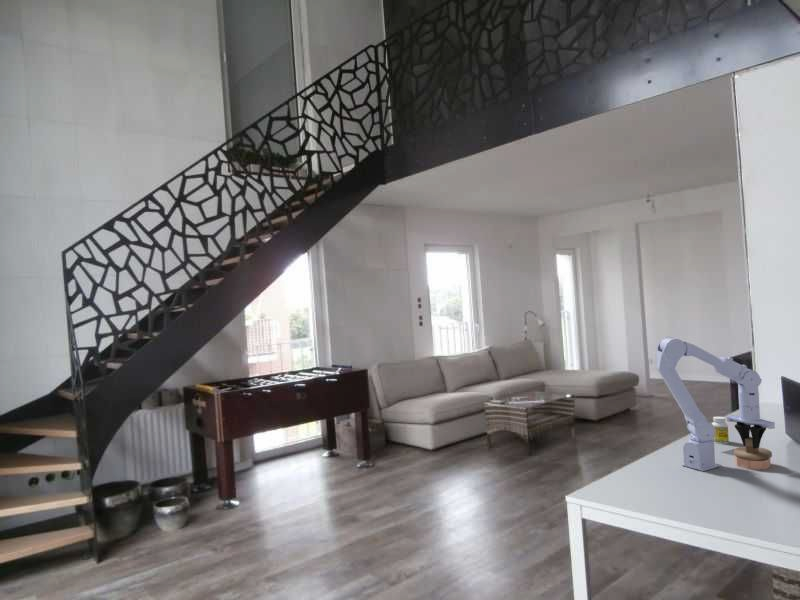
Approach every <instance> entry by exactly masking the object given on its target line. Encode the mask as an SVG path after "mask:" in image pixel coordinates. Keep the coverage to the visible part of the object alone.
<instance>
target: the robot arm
mask: <svg viewBox="0 0 800 600" xmlns="http://www.w3.org/2000/svg"><path fill="white" fill-rule="evenodd" d="M656 353H657V355H656V357H657V358H656V369H657V371H658V373H659V374H660V376H661V378H662V379H663V381H664V383H665V384H666V386H667V388H668V390H669V391H670V393H671V395H672V396H673V398H674V399H675V401H676V403H677V404H678V406H679V408H680V409H681V411H682V413H683V417H684V419H685V421H686V428H687V430H688V431H689V432H690V434H689V439H688V441H687V442H685V443H684V445H683V448H682V449H683V450H682V451H683V463H681V466H684V467H687V468H691V469H694V470H698V471H700V472H701V471H702V472H705V471H708V470H712V469H715V468H719V467H721V466H722V464H720V463H717V462H716V453H715V452H716V451H715V443H714V437H715V435H716V429H715V427H714V425H712V423H711V422H710V421H708V419H707V417H706V416H705V415H704V414H703V413H702V412H701V410H700V409H699V407H698V406H697V404H696V402H695V400H694V399H693V397H692V395H691V394H690V392H689V390H688V389H687V387H686V386H685V384H684V382H683V380H682V379H681V377H680V375H679V374H678V372H677V370H676V367H677V365H678V363H679V361H680V360H681V358H682V357H693V358H697V359H698V360H700V361H702V362H704V363H707V364H709V365H711V366H713V369H714V371H715V372H716V373H718V374H720V375H722V376H724V377H726V378H728V379H730V380H732V381H734V382H735V383H736V384H737V389H738V408H739V409H738V413H739V415H733V414H729V415H726V421H727V422H729V423H731V422H733V423H736V424H734V429H736V431H737V433H738V435H739V437H740V439H741V441H742V444H743V447H746V445H745V438H748V437H750V435H751V437H752V442H753V448H760V444H761V441H762V437H763V436H764V434H765V431H767V429H768V430H773V429H775V428H776V423H775V421H770V420H766V419H763V418H761V413H760V412H761V409H760V393H759V386H760V385H761V384H762V381H763V380H762V378H761V376H760V374H759V373H758V372H757V371H754V369H753V370H752V369H750V368H748V366H747V365H745V364H740V363H738V362H736V361H735V360H734V358H733V357H730V356H727V357H726V356H721V357H718V356H715V355H713V354H712V353H710V352H708V351H707V350H704V349H702V348H701V347H699V346H697V345H696V344H693V343H690V342H687V341H683V340H681V339H679V338H674V337H671V336H665V337H663V338H661V339H660V341H659V342H658V345H657V347H656ZM750 433H751V434H750Z"/></svg>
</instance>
